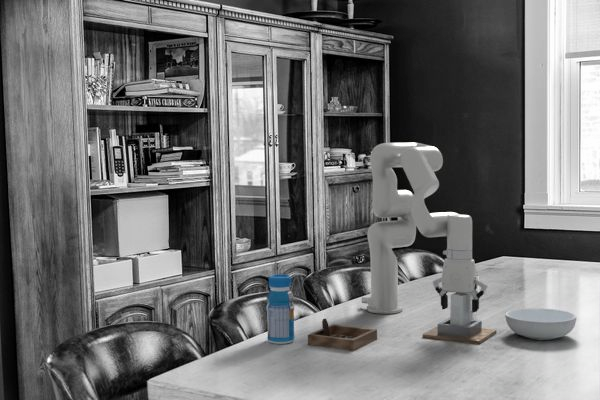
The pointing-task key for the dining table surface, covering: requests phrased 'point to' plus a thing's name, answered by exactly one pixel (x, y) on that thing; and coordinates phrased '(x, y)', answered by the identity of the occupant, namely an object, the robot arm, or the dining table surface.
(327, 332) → the compass
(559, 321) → the serving bowl
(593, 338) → the dining table surface
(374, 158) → the robot arm
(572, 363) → the dining table surface
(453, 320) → the skincare box
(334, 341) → the square wooden tray
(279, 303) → the beverage bottle
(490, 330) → the board with square socket
